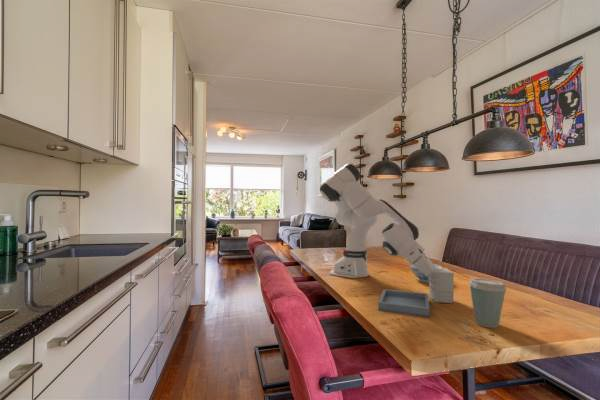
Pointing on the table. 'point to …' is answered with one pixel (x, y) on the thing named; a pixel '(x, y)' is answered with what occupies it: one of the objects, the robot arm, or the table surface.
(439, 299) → the supplement box
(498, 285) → the disposable coffee cup
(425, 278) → the chinaware
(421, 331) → the table surface
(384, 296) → the tray
